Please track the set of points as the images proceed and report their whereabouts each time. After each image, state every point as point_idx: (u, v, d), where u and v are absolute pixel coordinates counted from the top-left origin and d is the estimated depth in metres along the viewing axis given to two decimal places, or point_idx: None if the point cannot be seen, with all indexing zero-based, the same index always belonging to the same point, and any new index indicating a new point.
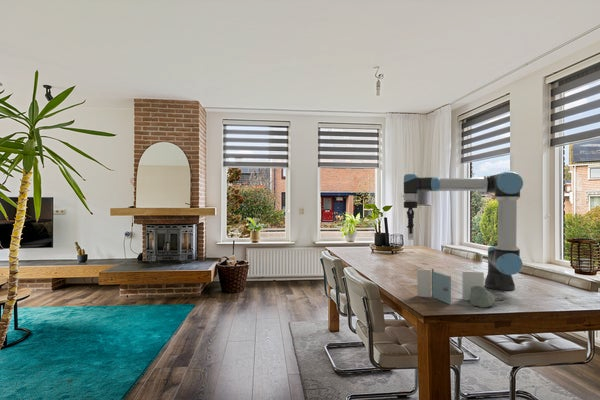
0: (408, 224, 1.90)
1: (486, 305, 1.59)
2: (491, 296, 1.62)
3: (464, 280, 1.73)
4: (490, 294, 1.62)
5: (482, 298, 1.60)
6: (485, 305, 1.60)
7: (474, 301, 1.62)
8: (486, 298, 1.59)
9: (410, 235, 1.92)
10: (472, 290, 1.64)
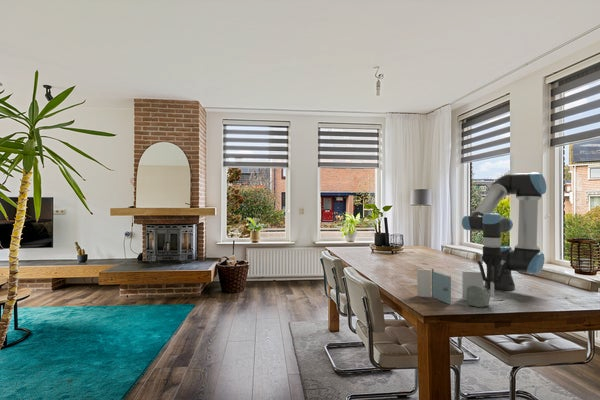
0: None
1: (482, 305, 1.60)
2: (487, 295, 1.62)
3: (464, 280, 1.73)
4: (486, 293, 1.62)
5: (478, 298, 1.60)
6: (481, 305, 1.60)
7: (470, 300, 1.62)
8: (482, 298, 1.60)
9: (489, 291, 1.64)
10: (468, 290, 1.63)
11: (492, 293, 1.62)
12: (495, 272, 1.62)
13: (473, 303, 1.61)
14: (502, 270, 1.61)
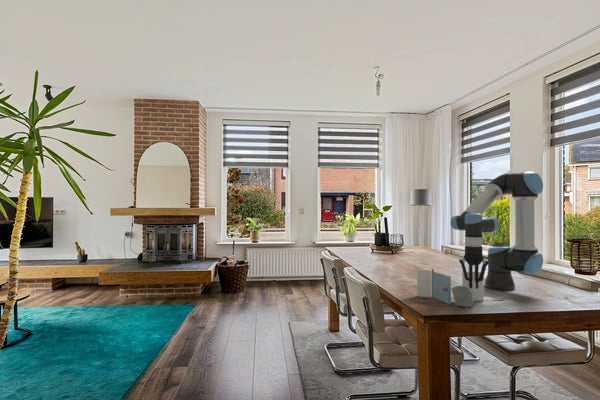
0: None
1: (470, 304, 1.61)
2: (471, 295, 1.64)
3: (464, 280, 1.73)
4: (470, 293, 1.64)
5: (466, 298, 1.60)
6: (469, 304, 1.60)
7: (459, 301, 1.61)
8: (470, 297, 1.61)
9: (471, 290, 1.66)
10: (456, 291, 1.62)
11: (474, 292, 1.64)
12: (477, 271, 1.64)
13: (462, 304, 1.61)
14: (483, 269, 1.63)
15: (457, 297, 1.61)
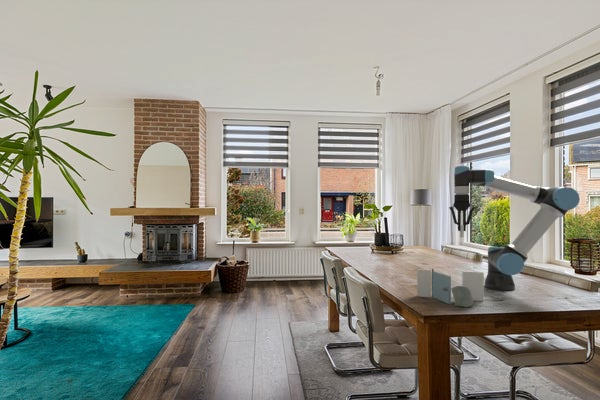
0: None
1: (470, 304, 1.61)
2: (471, 295, 1.64)
3: (464, 280, 1.73)
4: (470, 293, 1.64)
5: (466, 298, 1.60)
6: (469, 304, 1.60)
7: (459, 301, 1.61)
8: (470, 297, 1.61)
9: (460, 232, 1.91)
10: (456, 291, 1.62)
11: (462, 234, 1.90)
12: (464, 216, 1.89)
13: (461, 304, 1.61)
14: (470, 214, 1.89)
15: (457, 297, 1.61)
